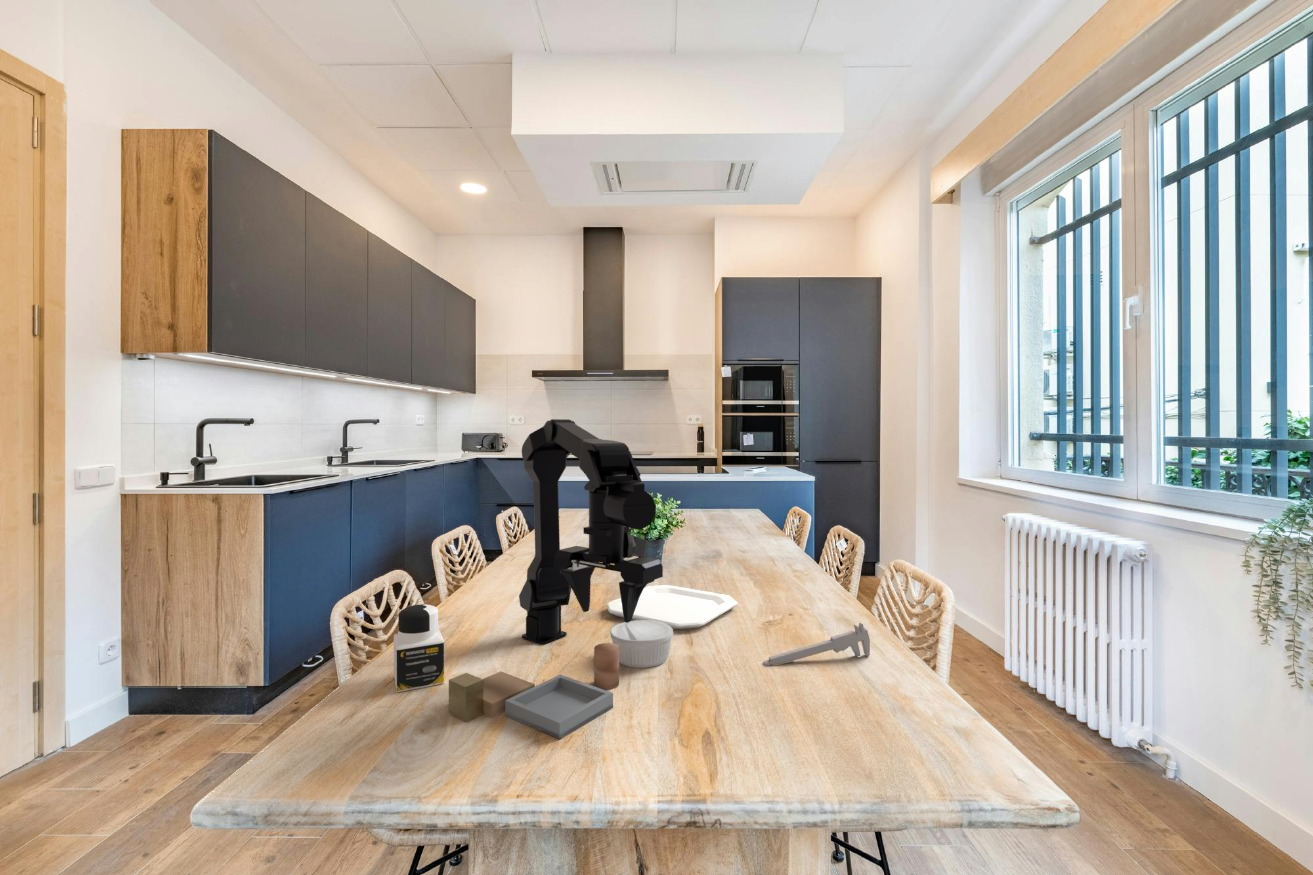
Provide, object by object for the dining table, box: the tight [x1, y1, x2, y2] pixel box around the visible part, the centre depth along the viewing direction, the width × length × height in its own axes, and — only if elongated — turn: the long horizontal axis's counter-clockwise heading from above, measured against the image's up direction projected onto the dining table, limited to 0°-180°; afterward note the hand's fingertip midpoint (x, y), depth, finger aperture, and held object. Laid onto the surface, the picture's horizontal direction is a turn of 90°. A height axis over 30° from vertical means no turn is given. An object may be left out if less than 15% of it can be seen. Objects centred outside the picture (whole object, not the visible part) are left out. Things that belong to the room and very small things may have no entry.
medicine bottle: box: [393, 603, 445, 693], centre depth 96 cm, size 7×7×12 cm
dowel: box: [593, 642, 620, 691], centre depth 95 cm, size 4×4×6 cm
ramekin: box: [610, 620, 674, 669], centre depth 106 cm, size 11×11×5 cm
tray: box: [504, 674, 614, 740], centre depth 85 cm, size 11×11×2 cm
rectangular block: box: [448, 672, 484, 723], centre depth 85 cm, size 3×4×5 cm
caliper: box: [762, 622, 871, 667], centre depth 105 cm, size 20×1×6 cm, turn 102°
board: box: [482, 670, 536, 719], centre depth 89 cm, size 8×8×2 cm
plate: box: [605, 584, 739, 630], centre depth 133 cm, size 25×25×2 cm
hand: (606, 616), depth 95 cm, fingers open, 9 cm apart
